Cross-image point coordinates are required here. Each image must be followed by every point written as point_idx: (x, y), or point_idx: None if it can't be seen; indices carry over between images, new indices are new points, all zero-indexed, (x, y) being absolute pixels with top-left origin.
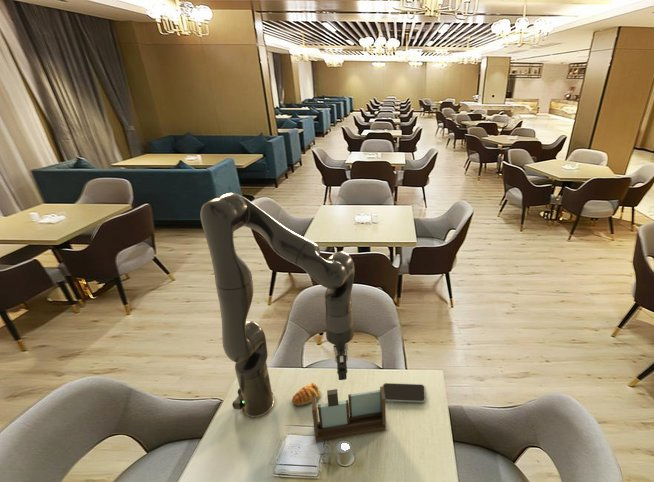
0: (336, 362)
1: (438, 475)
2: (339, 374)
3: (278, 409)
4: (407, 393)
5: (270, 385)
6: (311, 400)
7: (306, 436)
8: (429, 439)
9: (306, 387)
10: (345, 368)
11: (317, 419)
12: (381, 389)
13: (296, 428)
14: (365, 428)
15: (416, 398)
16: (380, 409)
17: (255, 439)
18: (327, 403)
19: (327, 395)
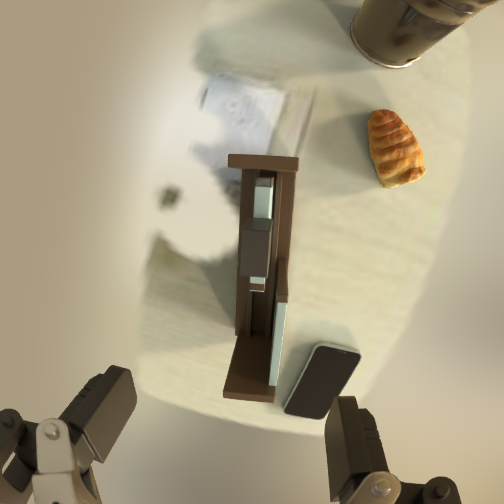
0: (35, 474)
1: (138, 377)
2: (89, 399)
3: (367, 76)
4: (313, 392)
5: (415, 45)
6: (373, 160)
7: (267, 138)
8: (200, 391)
9: (412, 151)
10: (5, 473)
11: (267, 170)
12: (262, 397)
13: (298, 114)
14: (242, 292)
15: (294, 403)
16: (271, 343)
17: (288, 27)
18: (266, 214)
19: (241, 229)
